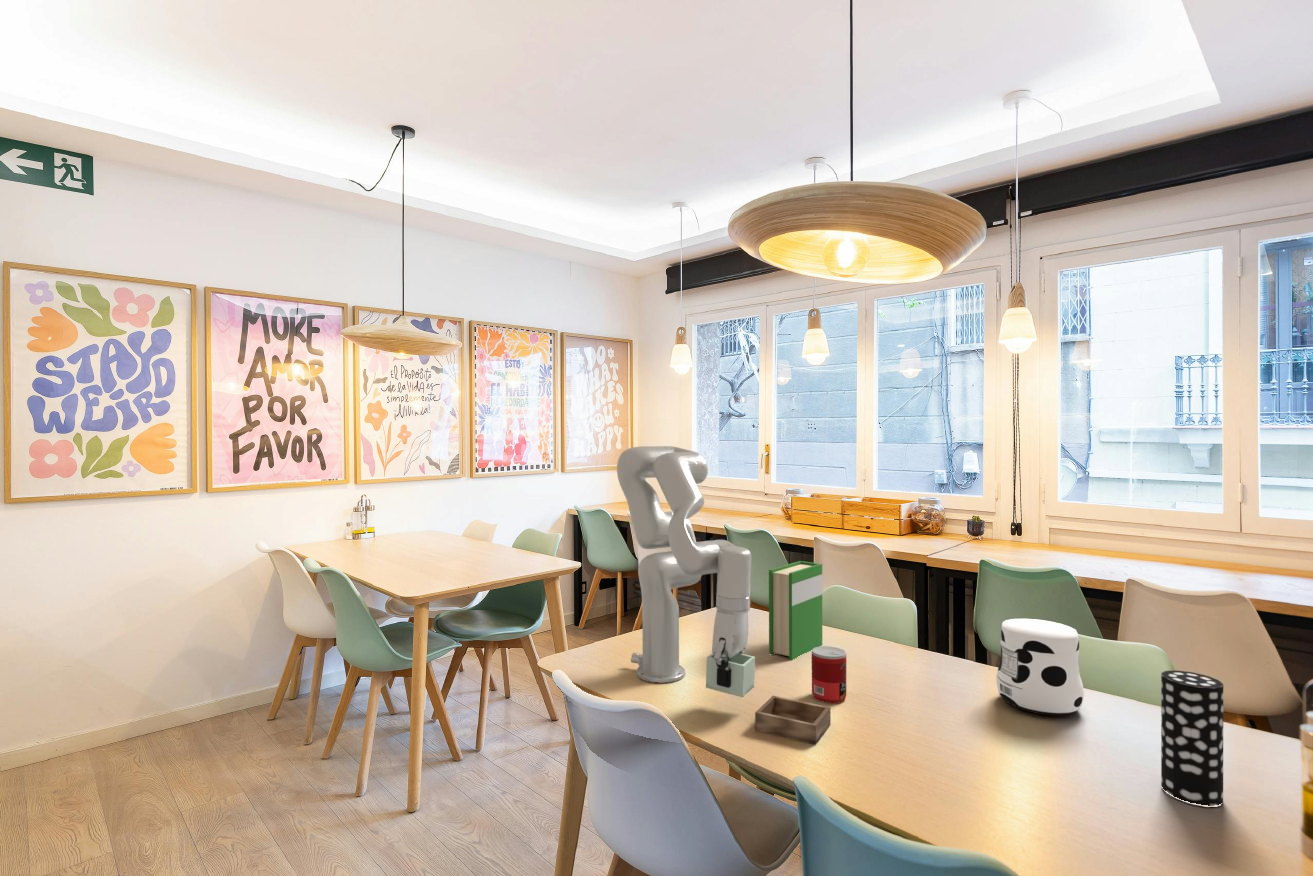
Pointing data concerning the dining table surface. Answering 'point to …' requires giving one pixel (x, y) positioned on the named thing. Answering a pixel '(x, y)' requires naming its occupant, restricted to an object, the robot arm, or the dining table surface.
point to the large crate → (793, 719)
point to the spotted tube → (1192, 737)
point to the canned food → (829, 674)
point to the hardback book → (795, 608)
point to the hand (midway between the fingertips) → (730, 679)
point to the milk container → (1040, 667)
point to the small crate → (733, 674)
